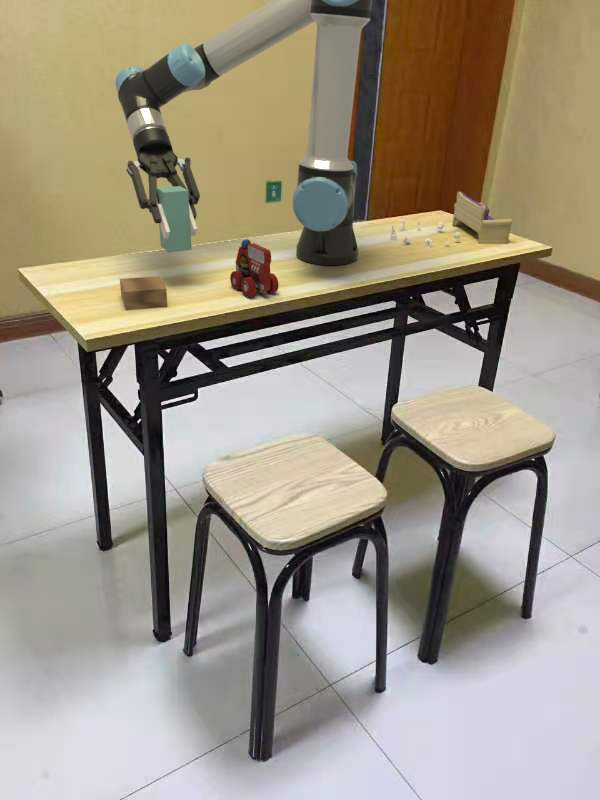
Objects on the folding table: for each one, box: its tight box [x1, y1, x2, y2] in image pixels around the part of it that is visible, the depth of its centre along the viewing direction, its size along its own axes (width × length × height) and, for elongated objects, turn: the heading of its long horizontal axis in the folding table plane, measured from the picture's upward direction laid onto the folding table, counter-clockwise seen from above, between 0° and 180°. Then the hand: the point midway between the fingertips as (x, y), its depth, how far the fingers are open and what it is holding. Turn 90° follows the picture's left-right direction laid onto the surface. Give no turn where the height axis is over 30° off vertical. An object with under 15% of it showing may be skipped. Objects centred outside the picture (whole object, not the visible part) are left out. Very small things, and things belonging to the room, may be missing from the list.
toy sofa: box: [452, 191, 514, 245], centre depth 192 cm, size 21×9×10 cm, turn 11°
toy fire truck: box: [230, 239, 280, 298], centre depth 143 cm, size 7×12×10 cm, turn 33°
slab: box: [119, 275, 168, 311], centre depth 136 cm, size 8×8×4 cm
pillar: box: [156, 186, 192, 253], centre depth 141 cm, size 5×5×12 cm
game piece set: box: [390, 219, 461, 249], centre depth 187 cm, size 19×20×4 cm
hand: (180, 233), depth 139 cm, fingers closed on pillar, 5 cm apart
